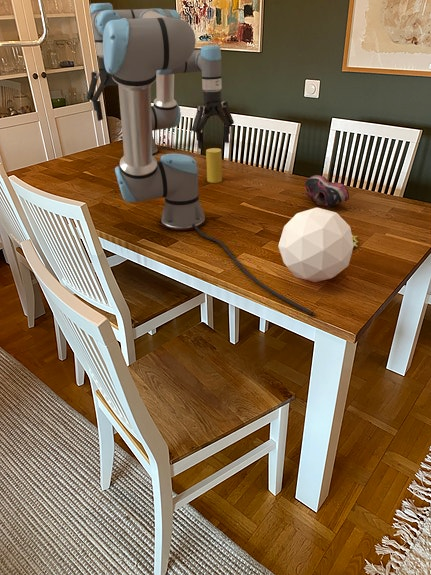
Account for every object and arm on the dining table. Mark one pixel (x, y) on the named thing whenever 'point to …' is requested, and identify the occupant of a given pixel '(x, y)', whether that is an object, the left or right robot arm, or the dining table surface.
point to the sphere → (316, 244)
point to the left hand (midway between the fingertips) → (213, 145)
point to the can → (214, 165)
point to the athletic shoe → (326, 191)
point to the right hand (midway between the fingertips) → (117, 120)
